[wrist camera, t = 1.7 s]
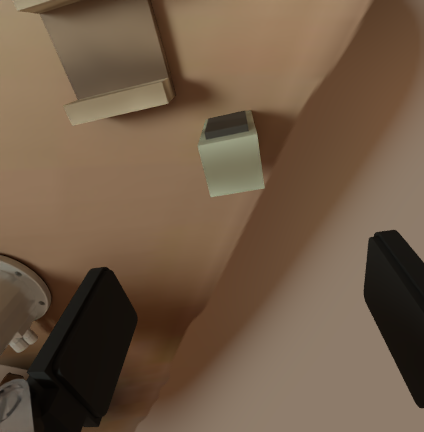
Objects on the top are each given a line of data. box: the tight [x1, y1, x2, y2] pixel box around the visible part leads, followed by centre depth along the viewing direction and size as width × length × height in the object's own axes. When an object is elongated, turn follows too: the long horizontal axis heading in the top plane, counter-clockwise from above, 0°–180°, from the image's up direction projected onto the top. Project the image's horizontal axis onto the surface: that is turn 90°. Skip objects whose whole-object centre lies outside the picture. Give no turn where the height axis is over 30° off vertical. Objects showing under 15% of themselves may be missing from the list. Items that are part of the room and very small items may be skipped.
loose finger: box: [198, 110, 264, 197], centre depth 22 cm, size 4×4×7 cm
